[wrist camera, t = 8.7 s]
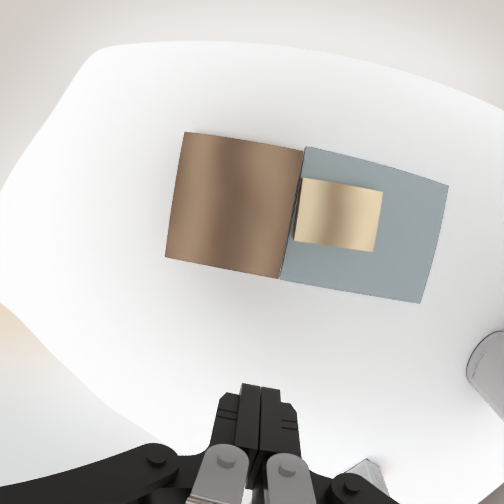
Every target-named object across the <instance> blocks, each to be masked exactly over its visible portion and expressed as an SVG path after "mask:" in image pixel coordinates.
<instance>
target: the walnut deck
mask: <svg viewBox="0 0 504 504" xmlns="http://www.w3.org/2000/svg"><path fill="white" fill-rule="evenodd" d="M302 157H303V151H300V150H295V149H290V148H285V147H280V146H274V145H269V144H264V143H258V142H252V141H246V140H240V139H234V138H227V137H220V136H213V135H206V134H199V133H191V132H185V133H184V138H183V143H182V148H181V154H180V159H179V165H178V170H177V176H176V182H175V188H174V195H173V201H172V208H171V215H170V222H169V229H168V236H167V244H166V252H165V257H167V258H172V259H177V260H182V261H187V262H192V263H197V264H203V265H208V266H213V267H218V268H223V269H228V270H233V271H239V272H244V273H249V274H255V275H260V276H265V277H271V278H276V279H278V278H279V273H280V268H281V263H282V259H283V254H284V249H285V244H286V239H287V234H288V229H289V224H290V219H291V214H292V209H293V204H294V199H295V194H296V189H297V183H298V178H299V173H300V167H301V162H302Z"/></svg>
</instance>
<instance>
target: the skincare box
mask: <svg viewBox="0 0 504 504" xmlns="http://www.w3.org/2000/svg"><path fill="white" fill-rule="evenodd" d="M345 473H354V474H358V475H360V476H362V477H363V478H365V479H366V480H368V481H369V482H370V483H372V484H373V485H374V486H376V487H377V488H378V489H380V490H381V491H382V492H384V493H385V494H386V495H388V496H389V493H388V490H387V487H386V484H385V481H384V479H383V476H382V473H381V470H380V468H379V466H377V465H376V464H374V463H372V462H370V461H369V460H367V459H365V460H364V461H362V462H361V463H359V464H358V465H356V466H355V467H353V468H352V469H350V470H349V471H347V472H345ZM389 497H390V496H389Z"/></svg>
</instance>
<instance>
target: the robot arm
mask: <svg viewBox="0 0 504 504" xmlns="http://www.w3.org/2000/svg"><path fill="white" fill-rule="evenodd" d="M467 378H468V381H469V382H470V383H471V384H472V386H473V387H474V388H475V389H476V390H477V391H478V392H479V394H480V395H481V396H482V397H483V398H484V399H485V401H486V402H487V403H488V404H489V405H490V406H491V407H492V409H493V410H494V411H495V412H496V413H497V414H498V416H499V417H500V418H501V419H502V420H503V422H504V332H501V331H500V332H495V333H493V334H491V335H489V336H488V337H486V338H485V339H484V340H483V341H482V342H481V343H480V344H479V345H478V347H477V348H476V349H475V351H474V352H473V354H472V356H471V358H470V360H469V363H468V367H467ZM297 422H298V421H297V412H296V411H295V409H294V408H293V407H292V405H291V404H290V403H283V402H281V399H280V390H279V389H273V388H267V387H261V389H260V386H255V385H250V384H245V383H242V385H241V389H240V393H239V395H237V394H232V393H228V392H226V393H225V394H224V395H223V396H222V397H221V398H220V400H219V404H218V409H217V413H216V418H215V422H214V426H213V431H212V435H211V440H210V444H209V446H208V448H207V449H206V450H205V451H203V452H202V453H200V454H197V455H191V456H178V455H177V453H176V452H175V451H174V450H173V449H171V448H170V447H168V446H165V445H162V444H158V443H149V444H145V445H142V446H139V447H137V448H134V449H131V450H129V451H126V452H123V453H120V454H117V455H115V456H112V457H109V458H106V459H103V460H100V461H97V462H94V463H91V464H88V465H85V466H81V467H78V468H75V469H72V470H69V471H65V472H61V473H58V474H54V475H50V476H46V477H42V478H38V479H34V480H30V481H26V482H21V483H17V484H13V485H7V486H2V487H0V504H241V502H242V497H243V492H244V487H245V489H250V490H253V494H252V499H251V501H250V504H399V503H398V502H396V501H395V500H393V499H392V498H391V497H389V496H388V495H386V494H385V493H384V492H382V491H381V490H380V489H378V488H377V487H376V486H374V485H373V484H372V483H370V482H369V481H368V480H366V479H365V478H363V477H362V476H360V475H358V474H354V473H342V474H339V475H337V476H336V477H335V478H334V479H331V478H328V477H324V476H321V475H318V474H316V473H314V472H312V471H310V470H309V468H308V465H307V464H306V462H305V461H304V460H303V459H302V458H301V450H300V440H299V431H298V423H297ZM245 483H246V485H245Z"/></svg>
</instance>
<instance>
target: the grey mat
mask: <svg viewBox="0 0 504 504" xmlns="http://www.w3.org/2000/svg"><path fill="white" fill-rule="evenodd" d="M300 178H309V179H316V180H322V181H328V182H333V183H339V184H345V185H350V186H356V187H361V188H366V189H371V190H376V191H381V192H383V196H382V203H381V209H380V216H379V222H378V228H377V233H376V239H375V244H374V249H373V252H368V251H361V250H355V249H348V248H341V247H334V246H327V245H320V244H313V243H306V242H299V241H294V240H293V238H292V233H293V227H294V220H295V213H296V206H297V199H298V192H299V185H300V180H299V185H298V190H297V195H296V201H295V206H294V211H293V216H292V221H291V226H290V231H289V236H288V241H287V245H286V250H285V255H284V260H283V265H282V269H281V274H280V280H285V281H290V282H296V283H302V284H307V285H313V286H318V287H324V288H330V289H335V290H341V291H347V292H353V293H359V294H364V295H370V296H376V297H382V298H388V299H394V300H401V301H407V302H413V303H419V304H420V302H421V299H422V296H423V292H424V289H425V286H426V282H427V279H428V275H429V272H430V268H431V265H432V261H433V257H434V253H435V249H436V245H437V241H438V237H439V232H440V228H441V223H442V219H443V214H444V209H445V203H446V198H447V193H448V187H449V186H447V185H444V184H441V183H438V182H435V181H432V180H429V179H426V178H423V177H420V176H417V175H414V174H411V173H407V172H404V171H401V170H397V169H394V168H391V167H387V166H384V165H380V164H376V163H373V162H369V161H365V160H362V159H358V158H354V157H350V156H346V155H342V154H338V153H334V152H329V151H325V150H321V149H316V148H312V147H307V146H306V148H305V153H304V158H303V164H302V169H301V175H300Z"/></svg>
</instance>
